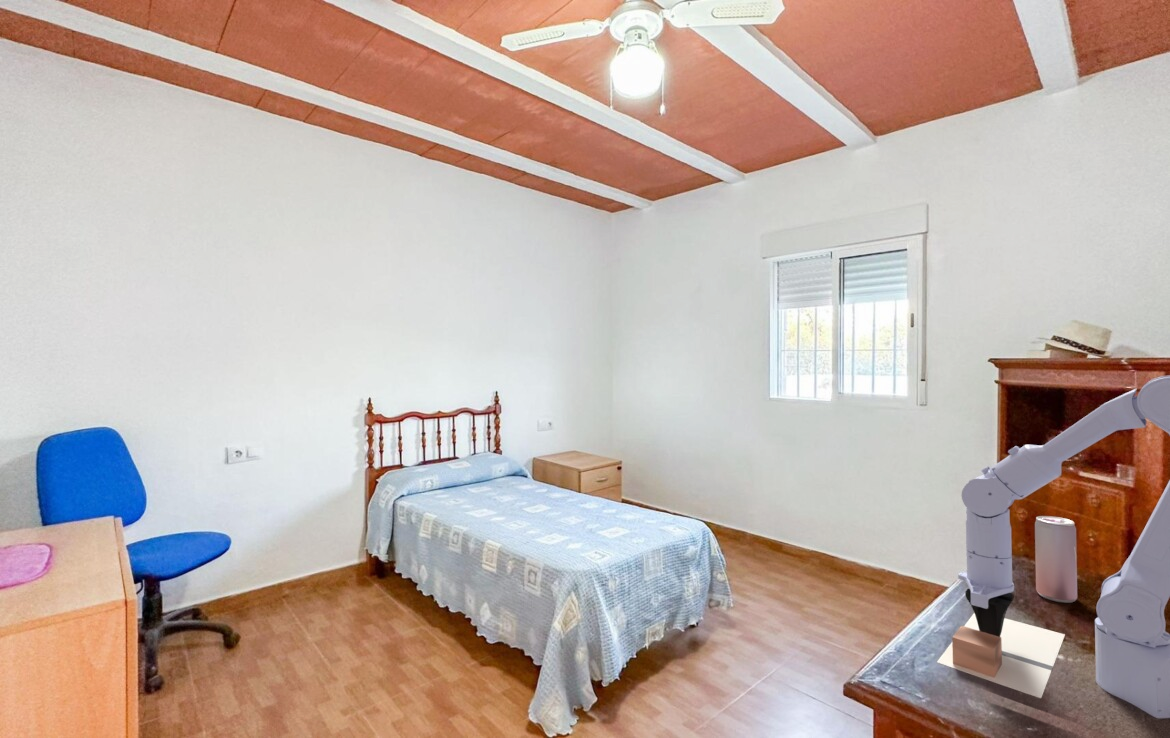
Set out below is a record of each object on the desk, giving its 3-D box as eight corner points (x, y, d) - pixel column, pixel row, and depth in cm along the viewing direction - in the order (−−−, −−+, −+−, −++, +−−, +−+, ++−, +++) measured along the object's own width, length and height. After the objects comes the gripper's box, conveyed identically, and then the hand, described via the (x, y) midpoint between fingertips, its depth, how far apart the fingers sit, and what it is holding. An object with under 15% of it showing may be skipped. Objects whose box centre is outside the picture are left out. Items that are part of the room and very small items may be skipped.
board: (976, 615, 95) (975, 610, 95) (1065, 640, 86) (1065, 634, 86) (936, 668, 79) (936, 662, 79) (1041, 705, 70) (1041, 698, 70)
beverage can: (1035, 587, 106) (1034, 513, 106) (1075, 595, 103) (1074, 518, 103) (1036, 598, 102) (1035, 521, 102) (1078, 606, 98) (1077, 526, 98)
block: (961, 651, 82) (961, 625, 82) (1001, 664, 78) (1001, 637, 78) (952, 663, 79) (952, 637, 79) (994, 677, 75) (993, 649, 75)
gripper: (969, 536, 91) (970, 614, 91) (946, 557, 81) (947, 645, 81) (1021, 545, 86) (1023, 628, 86) (1003, 570, 76) (1005, 663, 76)
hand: (990, 638), depth 83 cm, fingers closed
